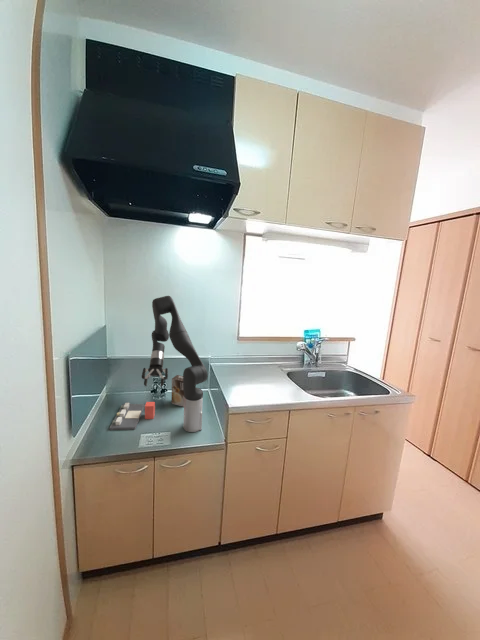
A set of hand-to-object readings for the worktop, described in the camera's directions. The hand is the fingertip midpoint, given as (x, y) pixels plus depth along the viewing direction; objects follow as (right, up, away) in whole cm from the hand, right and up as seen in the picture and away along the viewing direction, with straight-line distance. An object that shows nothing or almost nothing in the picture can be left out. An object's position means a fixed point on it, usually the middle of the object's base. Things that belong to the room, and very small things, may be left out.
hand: (153, 386), depth 149 cm
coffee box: (+13, -13, +9) cm, 20 cm away
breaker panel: (-10, -14, -9) cm, 20 cm away
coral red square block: (0, -15, -7) cm, 16 cm away
